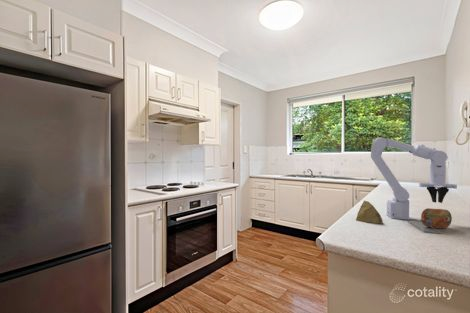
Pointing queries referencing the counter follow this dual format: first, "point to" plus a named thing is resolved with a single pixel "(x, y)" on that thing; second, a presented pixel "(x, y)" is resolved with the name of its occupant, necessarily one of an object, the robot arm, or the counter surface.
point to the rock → (368, 213)
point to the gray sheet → (424, 227)
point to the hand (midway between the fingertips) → (437, 202)
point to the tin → (436, 218)
